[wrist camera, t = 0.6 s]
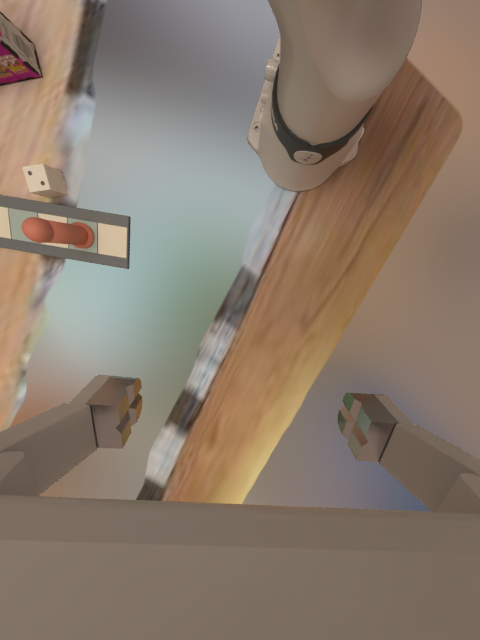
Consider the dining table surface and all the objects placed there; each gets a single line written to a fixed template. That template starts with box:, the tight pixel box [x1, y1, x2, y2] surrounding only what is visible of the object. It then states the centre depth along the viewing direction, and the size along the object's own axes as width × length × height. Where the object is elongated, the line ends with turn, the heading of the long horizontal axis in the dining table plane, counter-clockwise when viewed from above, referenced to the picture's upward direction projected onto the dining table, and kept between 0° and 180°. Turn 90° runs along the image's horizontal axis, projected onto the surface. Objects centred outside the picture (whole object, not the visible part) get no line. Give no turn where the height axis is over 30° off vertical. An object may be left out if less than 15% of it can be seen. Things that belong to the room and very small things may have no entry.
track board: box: [0, 195, 130, 269], centre depth 46 cm, size 10×30×1 cm, turn 81°
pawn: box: [22, 217, 95, 249], centre depth 39 cm, size 5×5×12 cm
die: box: [22, 164, 68, 198], centre depth 42 cm, size 4×4×4 cm
